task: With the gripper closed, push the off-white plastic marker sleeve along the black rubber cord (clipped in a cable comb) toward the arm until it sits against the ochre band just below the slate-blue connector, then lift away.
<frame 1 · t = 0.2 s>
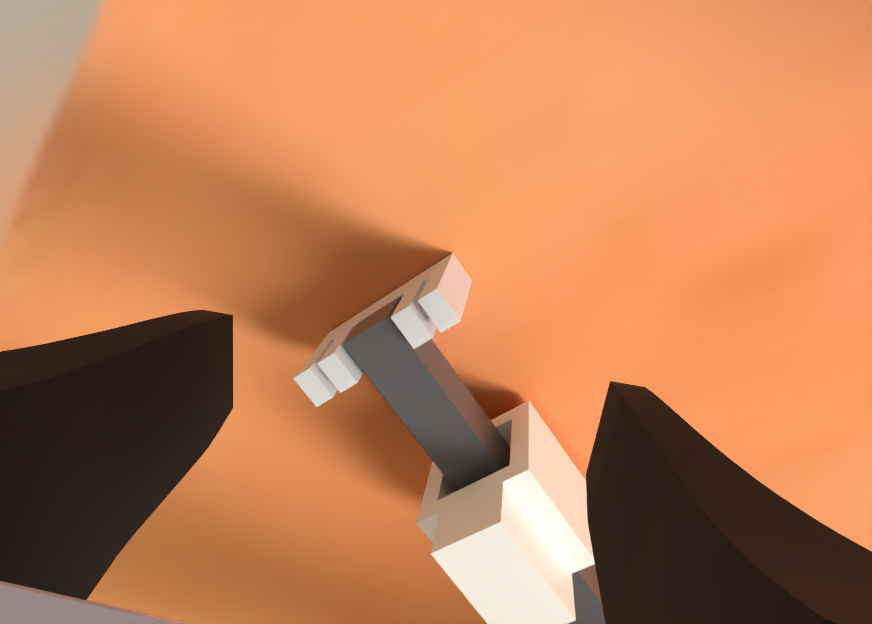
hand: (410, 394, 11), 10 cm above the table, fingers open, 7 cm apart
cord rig: (530, 487, 24), on the table
sleeve: (507, 517, 20), point 3 cm above the table, slide at 0.0 cm
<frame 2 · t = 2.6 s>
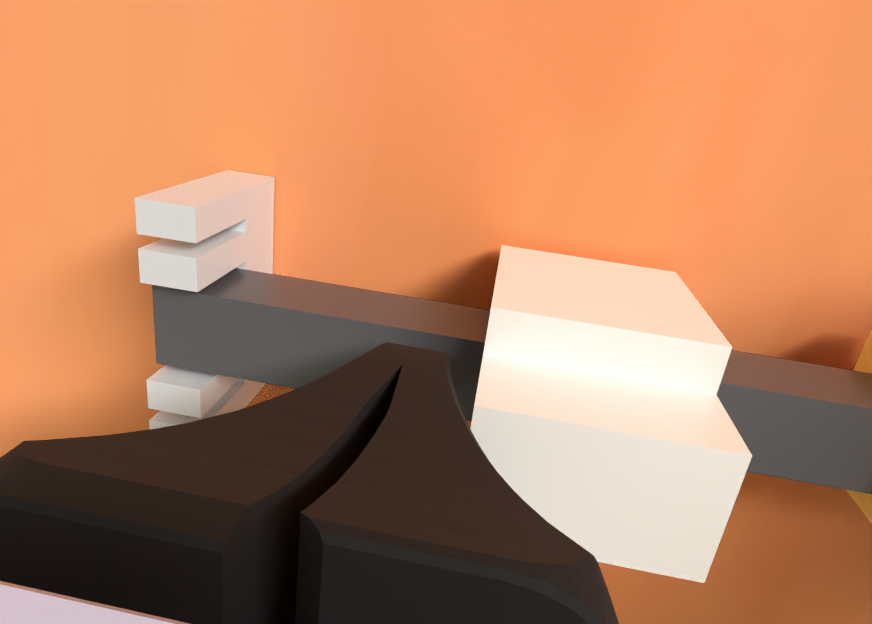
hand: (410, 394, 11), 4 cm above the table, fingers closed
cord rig: (591, 337, 15), on the table
sleeve: (578, 400, 12), point 3 cm above the table, slide at 0.9 cm, touching gripper
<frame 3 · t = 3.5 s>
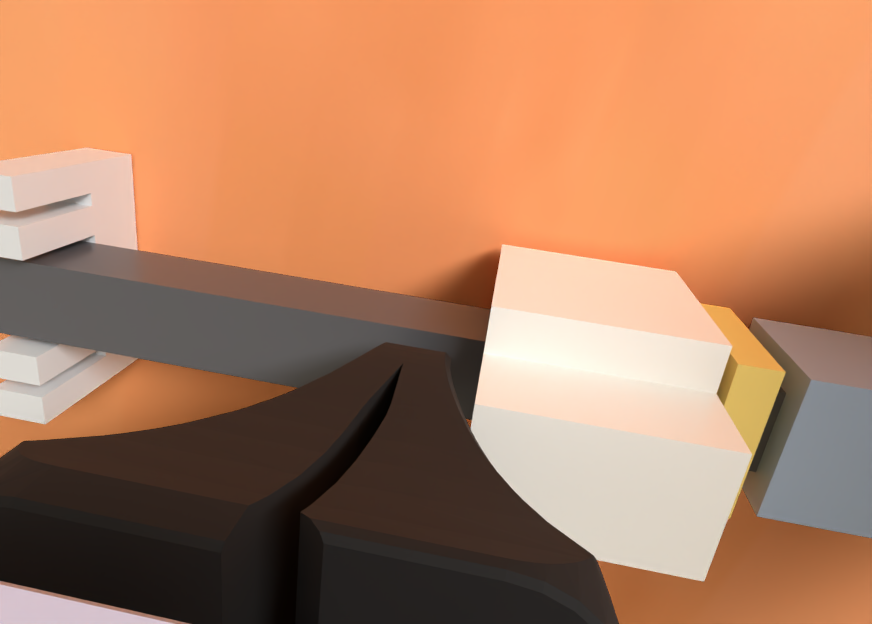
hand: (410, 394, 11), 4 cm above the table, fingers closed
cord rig: (442, 312, 15), on the table
sleeve: (578, 399, 12), point 3 cm above the table, slide at 4.7 cm, touching gripper
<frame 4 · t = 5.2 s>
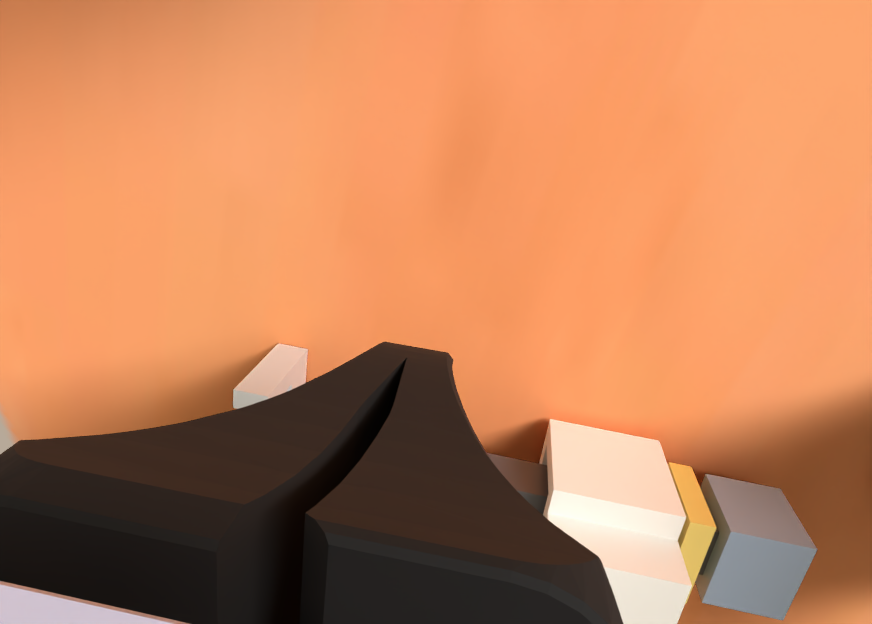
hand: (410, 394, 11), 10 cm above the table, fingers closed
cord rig: (507, 453, 24), on the table
sleeve: (598, 530, 20), point 3 cm above the table, slide at 4.7 cm
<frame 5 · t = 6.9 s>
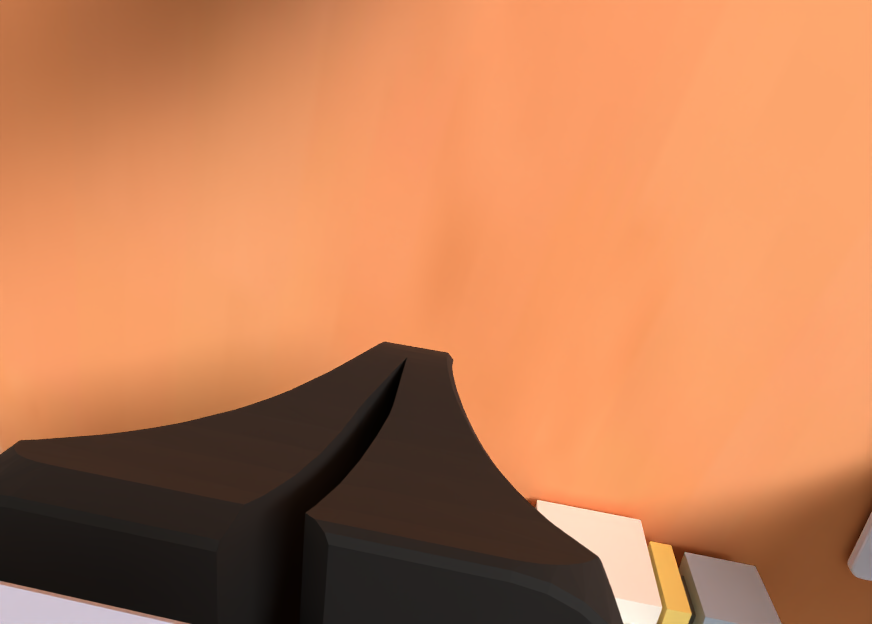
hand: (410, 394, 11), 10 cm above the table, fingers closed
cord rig: (498, 528, 25), on the table
sleeve: (583, 612, 22), point 3 cm above the table, slide at 4.7 cm
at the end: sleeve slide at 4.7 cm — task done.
